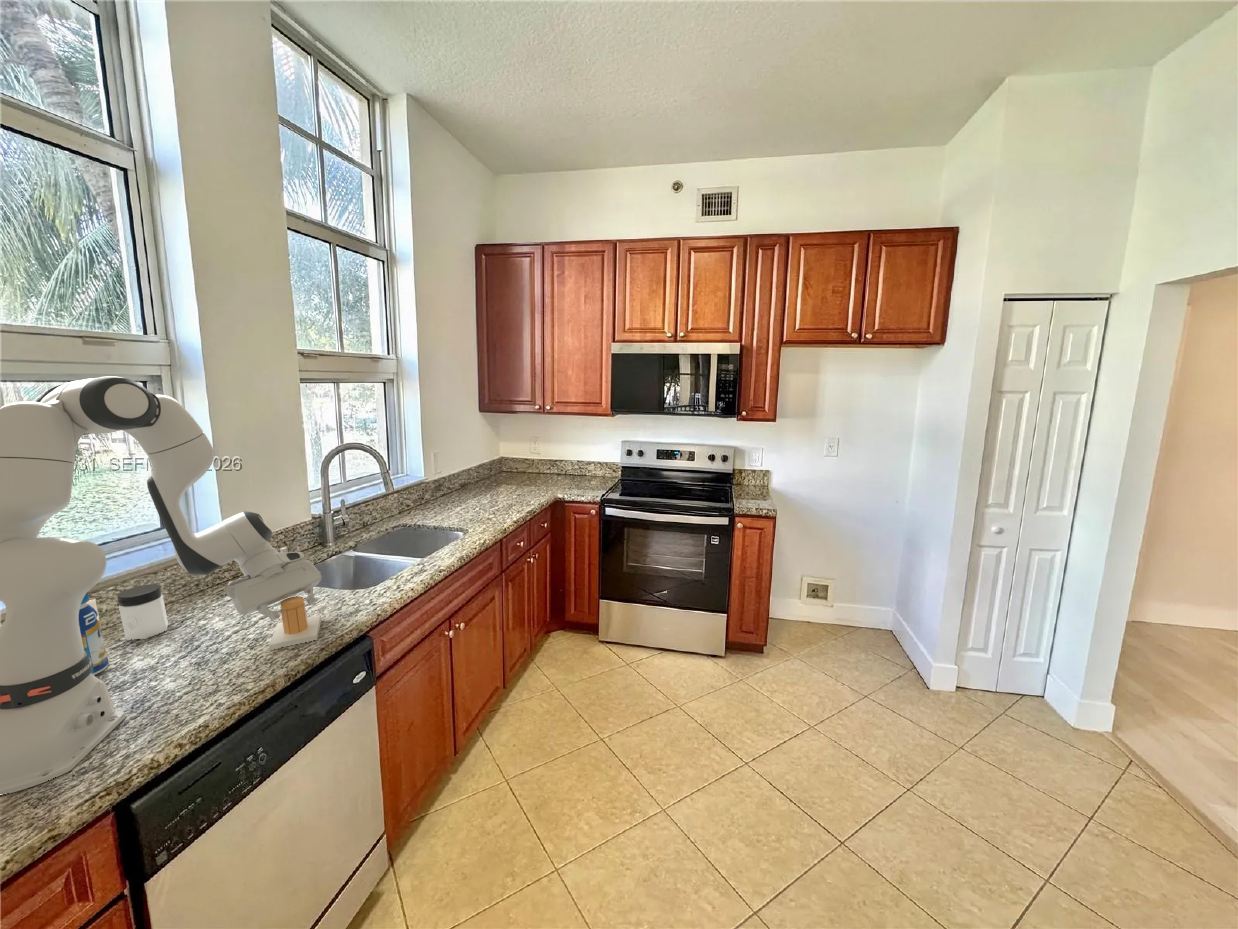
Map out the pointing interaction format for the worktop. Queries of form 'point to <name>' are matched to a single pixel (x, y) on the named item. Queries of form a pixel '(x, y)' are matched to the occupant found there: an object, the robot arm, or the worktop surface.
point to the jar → (142, 611)
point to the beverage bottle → (92, 636)
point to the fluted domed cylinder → (294, 615)
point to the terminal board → (306, 635)
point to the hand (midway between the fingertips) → (295, 610)
